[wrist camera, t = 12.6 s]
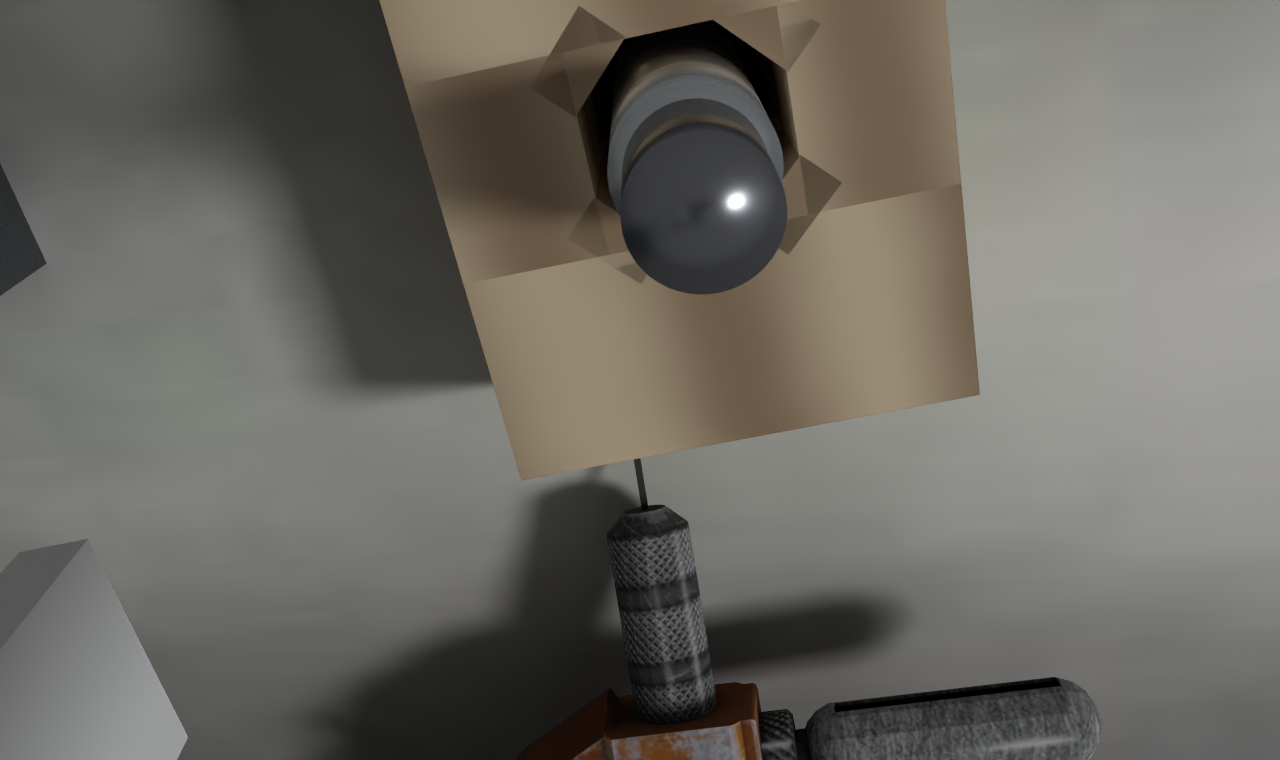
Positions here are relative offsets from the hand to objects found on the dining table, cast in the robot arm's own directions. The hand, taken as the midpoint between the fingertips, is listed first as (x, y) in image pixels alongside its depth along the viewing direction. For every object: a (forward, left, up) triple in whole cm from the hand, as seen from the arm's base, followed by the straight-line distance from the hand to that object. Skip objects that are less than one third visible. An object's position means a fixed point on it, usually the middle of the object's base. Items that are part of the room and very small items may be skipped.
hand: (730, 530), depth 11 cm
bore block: (0, 0, -22) cm, 22 cm away
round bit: (0, 0, -22) cm, 22 cm away
